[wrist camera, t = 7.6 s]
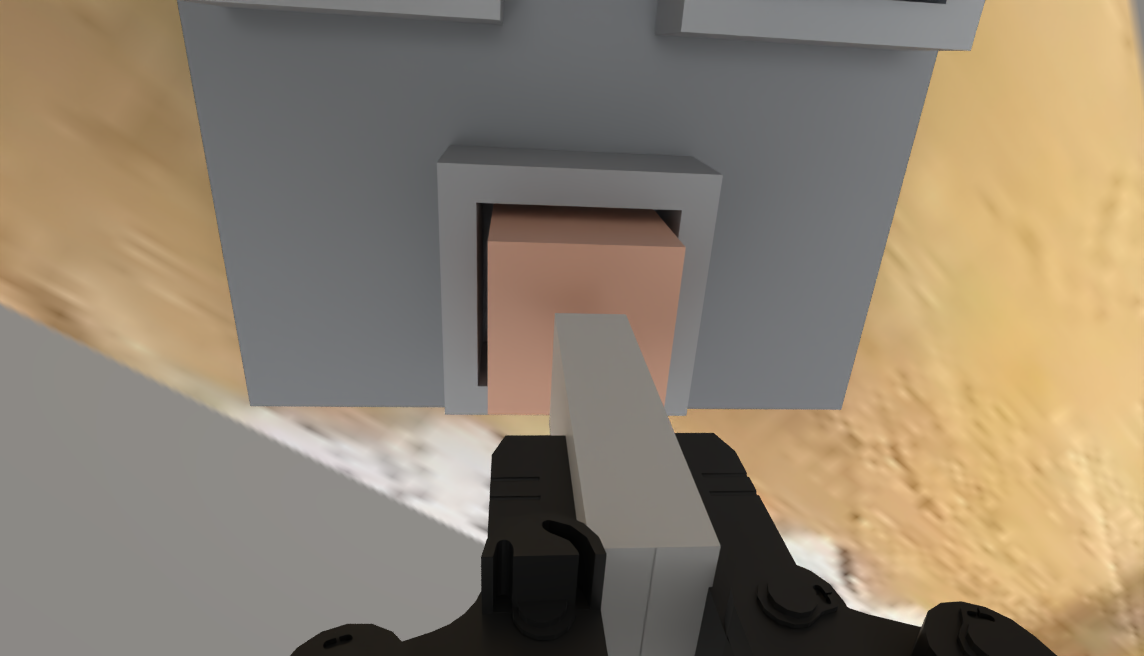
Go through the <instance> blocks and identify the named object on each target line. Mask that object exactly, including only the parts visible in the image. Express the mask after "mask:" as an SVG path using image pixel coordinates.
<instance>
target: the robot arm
mask: <svg viewBox="0 0 1144 656" xmlns="http://www.w3.org/2000/svg"><path fill="white" fill-rule="evenodd" d="M549 426H550V435H538V436H505V437H504V439H503V440H502V441H501V443H500V444H499V446H498V447H497V448H496V450H495V451H494V453H493V454H492V463H491V482H490V502H489V521H488V539H487V541H486V544H485V547H484V550H483V553H482V557H481V578H482V579H481V586H482V588H481V593H480V594H479V596H478V598H477V600H476V602H475V603H474V604H473V605H472V606H471V607H470V608H469V609H468V610H467V612H466V613H465V614H463V615H462V616H461V617H459V618H458V619H456V620H455V621H453V622H452V623H451V624H449V625H447V626H444V627H442V628H440V629H438V630H435V631H433V632H430V633H427V634H424V635H421V636H418V637H415V638H412V639H409V640H406V641H403V642H402V641H401V640H400V639H399V638H398V637H397V636H396V635H395V634H394V633H393V632H392V631H389V630H387V629H384V628H381V627H379V626H376V625H374V624H346V625H342V626H339V627H336V628H333V629H330V630H326V631H323V632H321V633H320V634H318V635H316V636H315V637H313V638H311V639H310V640H308V641H307V642H305V643H304V644H302V645H301V646H299V647H298V648H297V649H296V650H295V651H294V652H293V653H292V654H291V656H1057V655H1056V654H1054V653H1053V652H1052V651H1051V650H1050V649H1049V648H1048V647H1046V646H1045V645H1044V644H1043V643H1042V642H1041V641H1040V640H1038V639H1037V638H1036V637H1035V636H1034V635H1032V634H1031V633H1029V632H1028V631H1027V630H1025V629H1024V628H1023V627H1021V626H1020V625H1018V624H1017V623H1016V622H1014V621H1013V620H1011V619H1010V618H1007V617H1005V616H1003V615H1001V614H999V613H997V612H995V611H993V610H990V609H988V608H986V607H983V606H979V605H974V604H970V603H966V602H961V601H960V602H946V603H940V604H938V605H937V606H935V607H934V608H932V609H931V610H929V611H928V612H927V615H926V617H925V620H924V622H923V624H922V627H918V626H914V625H910V624H906V623H902V622H897V621H893V620H889V619H885V618H881V617H877V616H873V615H868V614H865V613H862V612H859V611H856V610H853V609H850V608H848V607H847V606H846V604H845V602H844V601H843V600H842V599H841V597H840V596H839V595H838V594H837V592H836V591H835V590H834V589H833V588H832V586H831V585H830V584H829V583H827V582H826V581H824V580H823V579H822V578H820V577H819V576H817V575H816V574H815V573H813V572H812V571H810V570H808V569H805V568H803V567H800V566H797V565H796V563H795V562H794V560H793V558H792V556H791V554H790V552H789V550H788V548H787V547H786V545H785V543H784V541H783V539H782V537H781V535H780V534H779V532H778V530H777V528H776V526H775V524H774V522H773V521H772V519H771V517H770V515H769V513H768V511H767V509H766V508H765V506H764V504H763V502H762V500H761V498H760V496H759V495H757V494H756V489H755V487H754V485H753V483H752V482H751V480H750V478H749V477H747V472H746V470H745V469H744V467H743V465H742V463H741V461H740V459H739V457H738V456H737V454H736V452H735V451H734V450H733V449H732V448H731V447H730V446H728V445H727V444H726V443H725V442H724V441H722V440H721V439H720V438H719V437H718V436H716V435H715V434H714V433H674V431H673V428H672V426H671V423H670V421H669V418H668V416H667V414H666V411H665V409H664V406H663V404H662V401H661V399H660V396H659V394H658V391H657V389H656V387H655V384H654V382H653V379H652V377H651V374H650V372H649V369H648V367H647V365H646V362H645V360H644V357H643V355H642V352H641V350H640V347H639V345H638V343H637V340H636V338H635V335H634V333H633V330H632V328H631V325H630V323H629V321H628V318H627V316H626V314H581V313H555V318H554V339H553V359H552V379H551V400H550V420H549Z"/></svg>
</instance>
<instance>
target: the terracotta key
mask: <svg viewBox="0 0 1144 656" xmlns="http://www.w3.org/2000/svg"><path fill="white" fill-rule="evenodd" d="M685 250H686V247H685V246H684V245H683V243H682V242H681V241H680V240H679V239H678V238H677V236H676V235H675V234H674V233H673V232H672V231H671V229H670V228H669V227H668V226H667V225H666V223H665V222H664V221H663V220H662V219H661V218H660V216H659V215H658V214H657V213H656V212H655V210H654V209H634V208H607V207H580V206H553V205H526V204H499V203H494V205H493V211H492V217H491V223H490V230H489V236H488V415H550V400H551V379H552V359H553V339H554V318H555V313H581V314H626V316H627V318H628V321H629V323H630V325H631V328H632V330H633V333H634V335H635V338H636V340H637V343H638V345H639V347H640V350H641V352H642V355H643V357H644V360H645V362H646V365H647V367H648V369H649V372H650V374H651V377H652V379H653V382H654V384H655V387H656V389H657V391H658V394H659V396H660V399H661V401H662V404H663V406H665V398H666V391H667V383H668V376H669V368H670V361H671V354H672V346H673V339H674V331H675V324H676V317H677V309H678V302H679V294H680V287H681V279H682V272H683V265H684V257H685Z"/></svg>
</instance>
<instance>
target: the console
mask: <svg viewBox="0 0 1144 656" xmlns="http://www.w3.org/2000/svg"><path fill="white" fill-rule="evenodd" d="M177 3H178V9H179V14H180V20H181V25H182V31H183V36H184V42H185V47H186V53H187V58H188V64H189V69H190V75H191V80H192V86H193V91H194V97H195V103H196V108H197V114H198V119H199V125H200V130H201V136H202V141H203V147H204V152H205V158H206V163H207V169H208V174H209V180H210V185H211V191H212V196H213V202H214V207H215V213H216V218H217V224H218V230H219V235H220V241H221V246H222V252H223V257H224V263H225V268H226V274H227V279H228V285H229V290H230V296H231V301H232V307H233V312H234V318H235V323H236V329H237V334H238V340H239V346H240V351H241V357H242V362H243V368H244V373H245V379H246V384H247V390H248V395H249V401H250V406H321V407H445V414H451V415H488V236H489V230H490V223H491V217H492V211H493V205H494V203H499V204H526V205H553V206H580V207H607V208H634V209H654V210H655V212H656V213H657V214H658V215H659V216H660V218H661V219H662V220H663V221H664V222H665V223H666V225H667V226H668V227H669V228H670V229H671V231H672V232H673V233H674V234H675V235H676V236H677V238H678V239H679V240H680V241H681V242H682V243H683V245H684V246H685V247H686V250H685V257H684V265H683V272H682V279H681V287H680V294H679V302H678V309H677V317H676V324H675V331H674V339H673V346H672V354H671V361H670V368H669V376H668V383H667V391H666V398H665V406H664V409H665V411H666V414H667V416H686V414H687V409H831V410H841V408H842V404H843V401H844V397H845V393H846V390H847V386H848V382H849V379H850V375H851V371H852V367H853V364H854V360H855V356H856V353H857V349H858V345H859V342H860V338H861V334H862V330H863V327H864V323H865V319H866V316H867V312H868V308H869V305H870V301H871V297H872V294H873V290H874V286H875V282H876V279H877V275H878V271H879V268H880V264H881V260H882V257H883V253H884V249H885V245H886V242H887V238H888V234H889V231H890V227H891V223H892V220H893V216H894V212H895V208H896V205H897V201H898V197H899V194H900V190H901V186H902V183H903V179H904V175H905V171H906V168H907V164H908V160H909V157H910V153H911V149H912V146H913V142H914V138H915V135H916V131H917V127H918V123H919V120H920V116H921V112H922V109H923V105H924V101H925V98H926V94H927V90H928V86H929V83H930V79H931V75H932V72H933V68H934V64H935V61H936V57H937V53H938V51H971V47H972V44H973V41H974V37H975V34H976V30H977V27H978V23H979V20H980V16H981V13H982V10H983V6H984V3H985V0H177Z"/></svg>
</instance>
